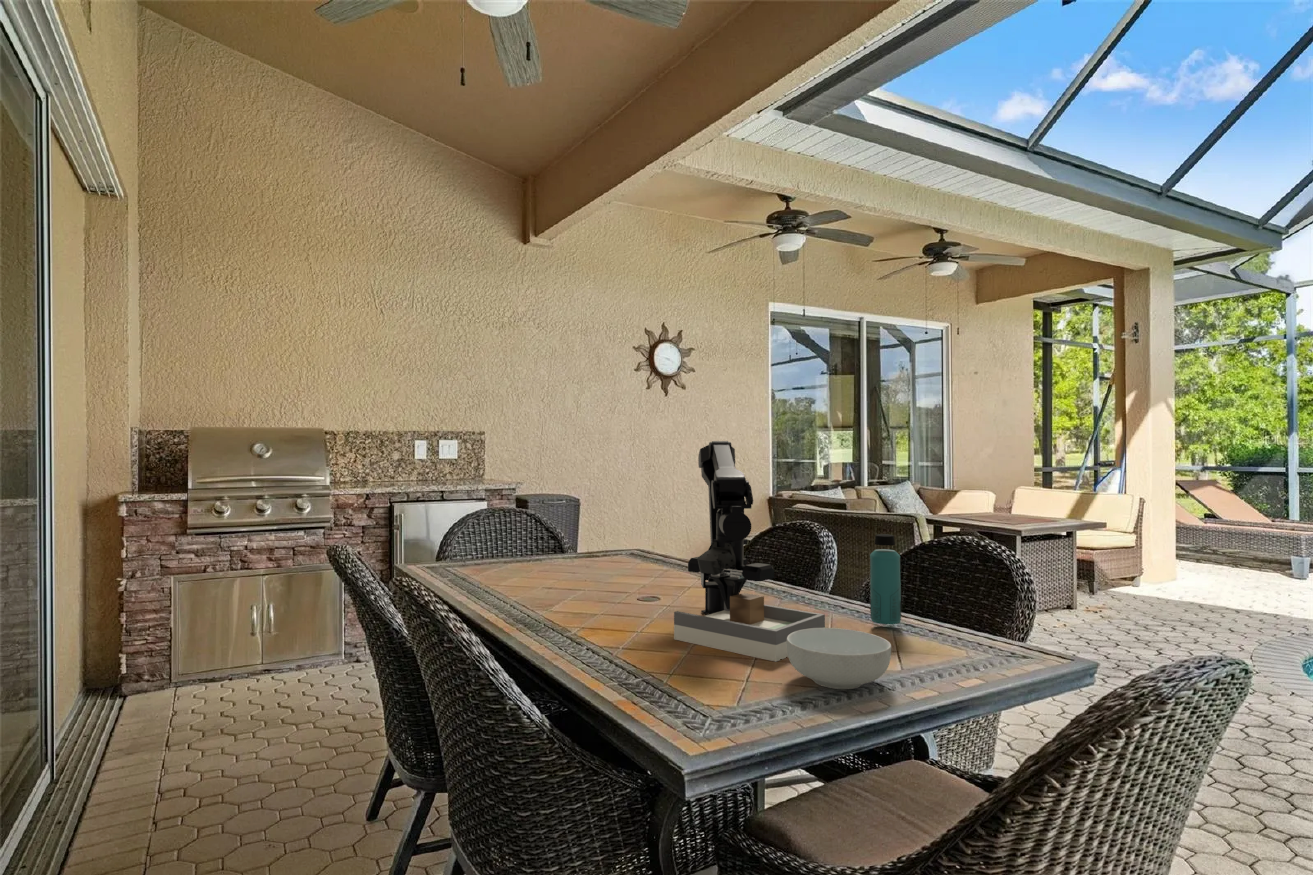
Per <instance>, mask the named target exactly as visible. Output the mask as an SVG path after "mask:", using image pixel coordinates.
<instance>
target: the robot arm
mask: <svg viewBox="0 0 1313 875" xmlns="http://www.w3.org/2000/svg"><path fill="white" fill-rule="evenodd" d="M697 461H698V462H697V463H698V468H699V469H700V472H701V473H700V474H701V478H702V479H703V480H704V482H705V484H706V485H707V486H708V509H709V512H708V513H709V533H710V534H709V535H710V546H709V547H708V550H706V551H704V552H703V553H702V554H700V555H699V556H695V557H690V559H689V561H688V562H687V572H690V573H691V572H692V573H697V574H698V573H700V584H701V587H702V588H703V589H705V591H704V592H705V593H704V594H705V595H704V598H705V599H704V600H705V603H704V604H705V607H704V609H703V610H701V611H700V613H702V614H705V615H709V614H713V613H716V612H720V611H723V610H724V602H725V605H726V608H727V609H728V610H730V596H734V595H738V594H741V591H742V589H743V587H744V586H745V583H746V582H747V581H751V582H762V581H763V582H764V581H768V580H772V579H775V569H774V567H773V565H772V564H770V563H769V564H768V563H760V562H755V563H751V564H748V559H747V558H745V557H744V555H745V554H744V550H745V549H744V547H745V545H748V539H747V537H748V536H749V535H750V534H751V531H752V523H751V519H750V517H748V516H747V514H745V509H752V505H753V504H754V498H753V491H752V486H751V485H750V481H749V480H747V478H746V475H745V474H744V472H743V471H741V470H739V469H737V468H736V449H735V448H734V447H733V446H732V442H731V441H728V440H712V441H709V442H708V444H707V445H705V446H703V447H702V448H701V447H700V449H699V452H698V460H697Z"/></svg>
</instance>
